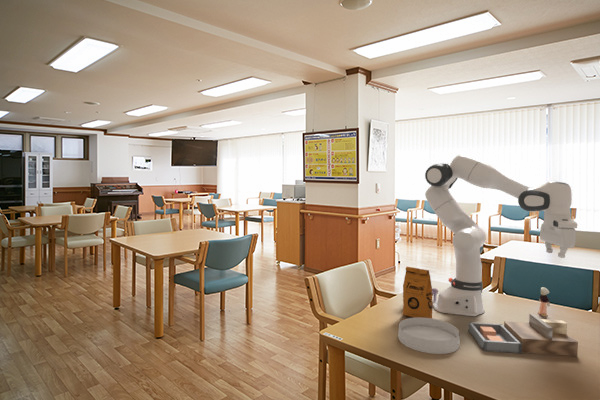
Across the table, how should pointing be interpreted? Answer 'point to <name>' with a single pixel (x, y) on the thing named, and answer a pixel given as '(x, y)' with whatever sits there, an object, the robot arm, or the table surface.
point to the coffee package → (417, 293)
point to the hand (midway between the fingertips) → (555, 255)
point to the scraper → (548, 326)
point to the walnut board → (541, 340)
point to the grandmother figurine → (543, 302)
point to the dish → (429, 335)
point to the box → (506, 345)
